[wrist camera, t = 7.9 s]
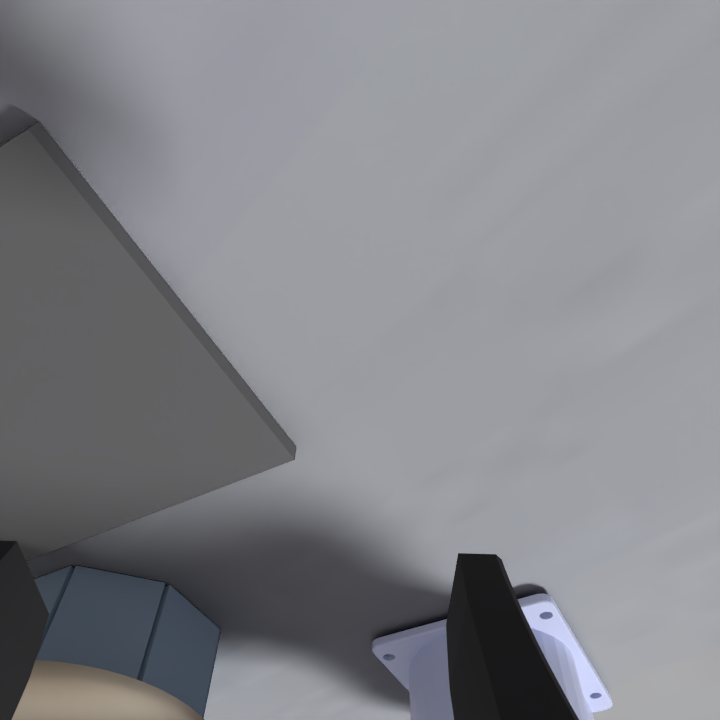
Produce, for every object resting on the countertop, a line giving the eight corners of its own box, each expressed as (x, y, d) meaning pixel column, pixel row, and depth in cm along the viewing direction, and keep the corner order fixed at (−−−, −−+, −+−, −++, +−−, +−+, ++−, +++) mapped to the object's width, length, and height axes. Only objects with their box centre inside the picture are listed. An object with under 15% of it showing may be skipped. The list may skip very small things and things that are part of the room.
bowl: (254, 660, 30) (238, 768, 26) (100, 703, 33) (66, 807, 29) (125, 545, 25) (84, 658, 22) (-42, 606, 28) (-104, 716, 24)
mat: (296, 446, 22) (294, 459, 22) (29, 549, 26) (22, 562, 25) (38, 121, 16) (28, 129, 16) (-268, 314, 19) (-285, 325, 19)
